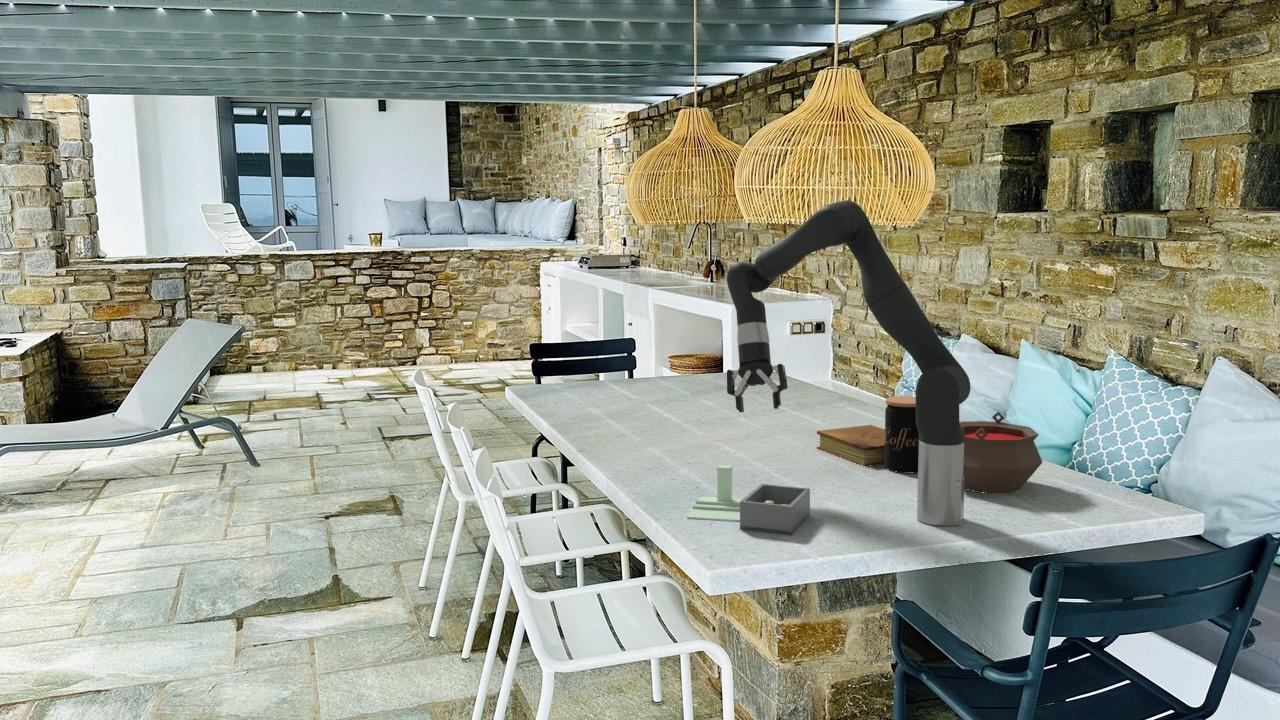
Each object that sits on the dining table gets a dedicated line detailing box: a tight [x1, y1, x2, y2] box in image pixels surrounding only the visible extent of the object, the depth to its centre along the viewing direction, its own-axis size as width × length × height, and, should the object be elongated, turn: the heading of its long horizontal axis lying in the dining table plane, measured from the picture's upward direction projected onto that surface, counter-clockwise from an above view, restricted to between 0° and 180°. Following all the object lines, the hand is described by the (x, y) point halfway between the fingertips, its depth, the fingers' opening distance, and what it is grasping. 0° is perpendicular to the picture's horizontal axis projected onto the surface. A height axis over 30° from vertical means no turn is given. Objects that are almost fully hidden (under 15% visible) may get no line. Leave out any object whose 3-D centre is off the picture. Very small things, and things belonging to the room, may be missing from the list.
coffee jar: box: [883, 395, 919, 474], centre depth 258 cm, size 11×11×18 cm
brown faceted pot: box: [960, 411, 1043, 494], centre depth 241 cm, size 24×24×16 cm
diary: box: [816, 424, 885, 467], centre depth 275 cm, size 23×19×6 cm
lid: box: [686, 464, 744, 523], centre depth 225 cm, size 12×16×9 cm
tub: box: [739, 483, 811, 536], centre depth 215 cm, size 11×15×6 cm
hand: (758, 410), depth 240 cm, fingers open, 8 cm apart
